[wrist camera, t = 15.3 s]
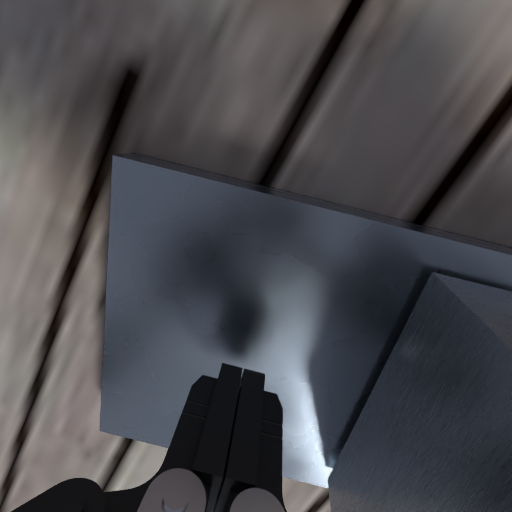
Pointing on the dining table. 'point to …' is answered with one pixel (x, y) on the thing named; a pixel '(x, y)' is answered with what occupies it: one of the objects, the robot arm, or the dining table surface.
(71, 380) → the dining table surface
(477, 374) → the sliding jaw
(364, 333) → the vise
